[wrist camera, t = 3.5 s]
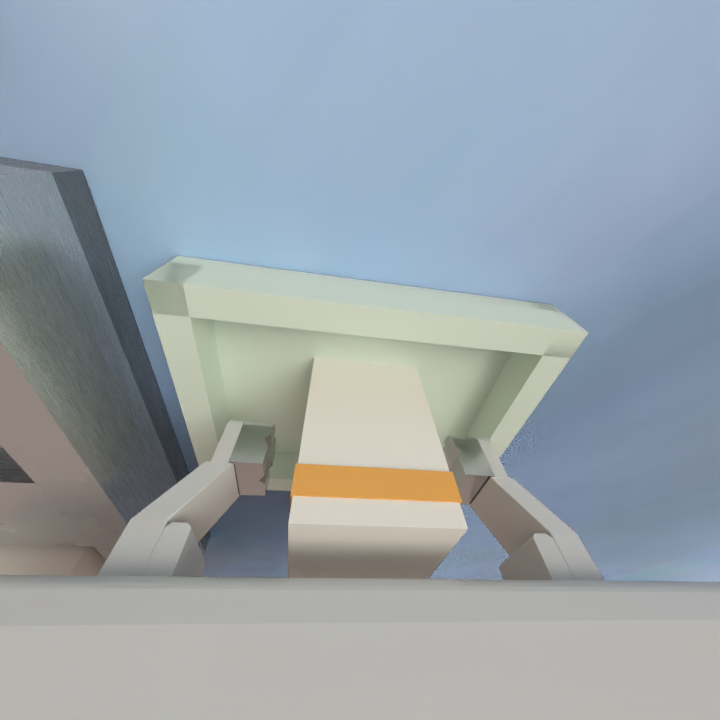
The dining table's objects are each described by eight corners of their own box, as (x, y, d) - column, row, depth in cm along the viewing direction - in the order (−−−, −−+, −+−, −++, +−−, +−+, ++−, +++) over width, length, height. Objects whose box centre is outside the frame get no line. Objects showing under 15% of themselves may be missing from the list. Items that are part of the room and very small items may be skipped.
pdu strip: (82, 170, 8) (-108, 184, 4) (210, 535, 20) (184, 608, 17) (-346, 102, 7) (-993, 59, 3) (70, 532, 19) (15, 608, 16)
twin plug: (128, 485, 15) (20, 650, 10) (150, 523, 17) (72, 671, 12) (38, 482, 14) (-121, 652, 9) (74, 521, 17) (-38, 673, 12)
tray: (551, 304, 11) (588, 332, 9) (458, 464, 16) (470, 498, 15) (178, 255, 9) (142, 278, 7) (220, 450, 15) (205, 487, 13)
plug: (417, 366, 11) (470, 528, 6) (395, 434, 14) (421, 589, 9) (313, 356, 11) (285, 522, 6) (308, 428, 13) (286, 588, 8)
